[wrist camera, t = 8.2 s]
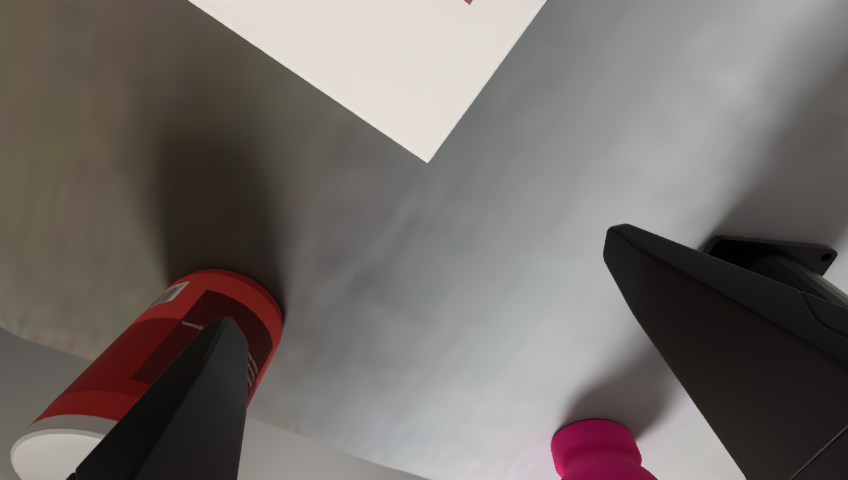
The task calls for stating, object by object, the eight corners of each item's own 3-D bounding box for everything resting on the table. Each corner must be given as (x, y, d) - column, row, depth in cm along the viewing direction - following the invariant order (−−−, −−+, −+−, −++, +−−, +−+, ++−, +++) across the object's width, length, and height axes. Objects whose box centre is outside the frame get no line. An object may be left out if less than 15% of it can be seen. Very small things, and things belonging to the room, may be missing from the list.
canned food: (170, 338, 28) (25, 510, 18) (170, 247, 24) (-15, 407, 14) (278, 367, 29) (193, 545, 19) (295, 285, 25) (199, 458, 15)
